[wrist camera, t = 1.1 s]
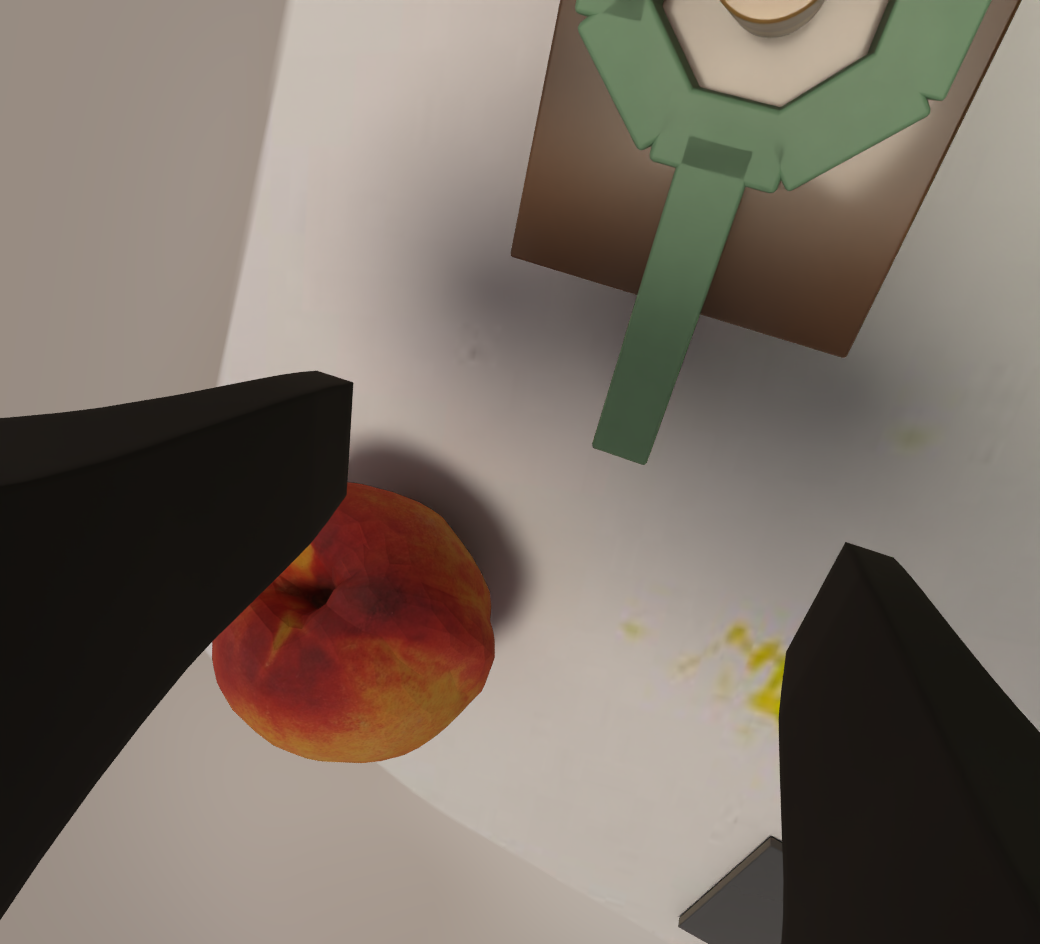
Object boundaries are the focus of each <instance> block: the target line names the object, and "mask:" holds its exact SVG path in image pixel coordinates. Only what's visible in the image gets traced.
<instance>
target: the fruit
mask: <svg viewBox="0 0 1040 944" xmlns="http://www.w3.org/2000/svg"><path fill="white" fill-rule="evenodd" d="M490 615H491V600H490V591H489V589H488V587H487V585H486V583H485V580H484V578H483V576H482V574H481V572H480V570H479V568H478V566H477V565H476V563H475V561H474V559H473V558H472V556H471V555H470V553H469V552H468V551H467V549H466V548H465V546H464V545H463V544H462V542H461V541H460V539H459V538H458V537H457V535H456V534H455V533H454V531H453V530H452V529H451V527H450V526H449V525H448V523H447V522H446V521H445V519H444V518H443V517H441V516H440V515H439V514H437V513H436V512H435V511H433V510H432V509H430V508H428V507H427V506H425V505H423V504H421V503H419V502H417V501H415V500H412V499H409V498H407V497H404V496H402V495H399V494H396V493H394V492H390V491H387V490H383V489H379V488H375V487H371V486H368V485H364V484H358V483H350V482H347V495H346V497H345V498H344V500H343V501H342V502H341V504H340V505H339V507H338V508H337V509H336V511H335V512H334V514H333V515H332V516H331V518H330V519H329V521H328V522H327V523H326V525H325V526H324V527H323V528H322V530H321V531H320V532H319V534H318V535H317V536H316V537H315V539H314V540H313V541H312V543H311V544H310V545H309V546H308V547H307V548H306V549H305V550H304V551H303V552H302V553H301V554H300V555H299V556H298V557H297V558H296V559H295V560H294V561H293V562H292V563H291V564H290V565H289V566H288V567H287V568H286V569H285V570H284V571H283V572H282V573H281V574H280V575H279V576H278V577H277V578H276V579H275V580H274V581H273V582H272V583H271V584H270V585H269V586H268V587H267V588H266V589H265V590H264V591H263V592H262V593H261V594H260V595H259V596H258V597H257V598H256V599H255V600H254V601H253V602H252V603H251V604H250V605H249V606H248V607H247V608H246V609H245V610H244V611H243V612H242V613H241V614H240V615H239V616H238V617H237V618H236V619H235V620H234V621H233V622H232V623H231V624H230V625H229V626H228V627H227V628H226V629H225V630H224V631H223V632H222V633H220V634H219V635H218V636H217V637H216V638H215V639H214V640H213V642H212V660H213V666H214V671H215V675H216V680H217V683H218V685H219V687H220V689H221V691H222V693H223V694H224V696H225V698H226V699H227V701H228V703H229V705H230V706H231V708H232V710H233V711H234V712H236V714H237V715H238V716H240V717H241V718H242V719H243V720H244V721H245V722H246V723H247V724H248V725H249V726H250V727H251V728H252V729H253V730H254V731H255V732H257V733H258V734H259V735H260V736H262V737H263V738H264V739H266V740H267V741H268V742H270V743H271V744H272V745H274V746H276V747H279V748H281V749H283V750H286V751H288V752H290V753H293V754H296V755H299V756H301V757H304V758H307V759H312V760H317V761H327V762H349V763H351V762H352V763H367V762H376V761H383V760H387V759H390V758H394V757H398V756H402V755H405V754H407V753H409V752H411V751H413V750H415V749H417V748H419V747H421V746H422V745H423V744H425V743H426V742H428V741H429V740H431V739H432V738H434V737H435V736H436V735H438V734H439V733H440V732H441V731H442V730H444V729H445V728H446V727H447V726H448V725H449V724H450V723H451V722H452V721H453V720H454V719H455V718H456V717H457V716H458V715H459V714H460V713H461V712H462V711H463V710H464V709H465V708H466V707H467V706H468V704H469V703H470V702H471V701H472V700H473V699H474V698H475V697H476V696H477V695H478V694H479V693H480V692H481V691H482V689H483V687H484V685H485V683H486V680H487V677H488V674H489V672H490V669H491V666H492V664H493V661H494V658H495V639H494V634H493V630H492V626H491V623H490Z"/></svg>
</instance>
